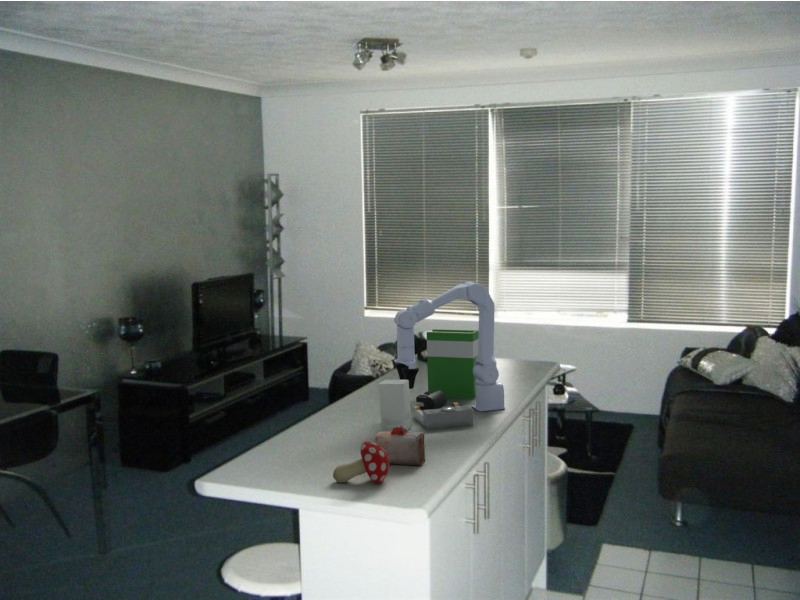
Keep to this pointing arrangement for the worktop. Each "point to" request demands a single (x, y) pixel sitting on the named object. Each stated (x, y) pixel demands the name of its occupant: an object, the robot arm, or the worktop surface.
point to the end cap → (432, 400)
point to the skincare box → (394, 404)
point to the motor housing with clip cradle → (445, 416)
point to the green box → (452, 362)
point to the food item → (402, 446)
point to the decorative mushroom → (365, 464)
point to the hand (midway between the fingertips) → (407, 386)
